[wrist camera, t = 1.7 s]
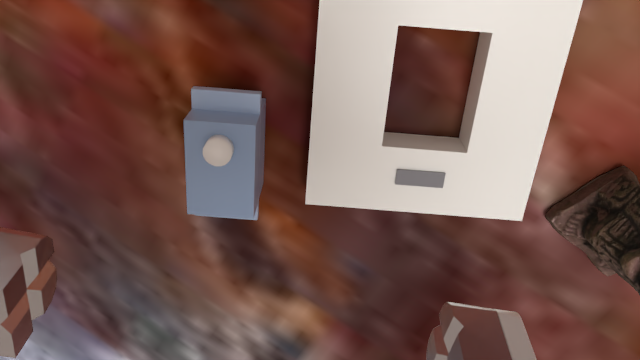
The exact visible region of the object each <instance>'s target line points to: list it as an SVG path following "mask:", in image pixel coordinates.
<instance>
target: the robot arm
mask: <svg viewBox="0 0 640 360" xmlns="http://www.w3.org/2000/svg"><path fill="white" fill-rule="evenodd" d="M53 253H54V247H53V241H52V239H51V238H50V237H48V236H44V235H39V234H34V233H28V232H23V231H18V230H13V229H7V228H2V227H0V356H5V357H13V358H16V356H17V355H18V353H19V352H20V350H21V349H22V347H23V346H24V344H25V343H26V341H27V340H28V338H29V336H30V335H31V333H32V332H33V327H32V320H33V319H35V318H37V317H39V316H41V315H43V314H44V313H45V311H46V310H47V308H48V306H49V305H50V303H51V301H52V298H53V295H54V292H55V289H56V282H57V272H56V268H55V267H54V265H53V264H52V263H51V262H50V261H49V259H50V257H51V256H52V254H53ZM439 317H440V322H441V325H439V326H437V327H436V328H434V329H433V330H432V333H431V335H430V338H429V341H428V347H427V360H537V359H536V356H535V354H534V351H533V348H532V346H531V343H530V340H529V338H528V335H527V332H526V330H525V327H524V324H523V322H522V319H521V316H520V315H519V314H518V313H517V312H512V311H505V310H498V309H490V308H484V307H477V306H471V305H464V304H458V303H452V302H446V303H445V304H444V305H443V307H442V309H441V311H440V314H439Z"/></svg>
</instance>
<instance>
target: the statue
mask: <svg viewBox="0 0 640 360" xmlns="http://www.w3.org/2000/svg"><path fill="white" fill-rule="evenodd" d="M545 217H546V219H547V220H548V221H549V222H550V224H551V225H552V227H553V228H554V229H555V230H556V231H557V232H558V233H559V234H560V235H562V236H563V237H564V238H565V239H567V240H568V241H569V242H571V243H572V244H574V245H575V246H577V247H578V248H580V249H581V250H582V251H584V252H585V253H586V254H587V256H588V258H589V259H590V260H591V261H592V263H593V264H594V265H595V266H596V268H597V269H598V270H600V271H601V272H602V273H603V274H605V275H606V276H610V275H613V274H615V273H617V274H618V275H619V276H620V277H621V278H623V279H624V280H625V281H626V282H628V283H629V284H630V285H631V286H632V287H634V289H635V290H636V291H638V293H639V295H640V184H639V182H638V179H637V176H636V175H635V174H634V173H633V172H632V171H631V170H629V169H628V168H627V167H626V166H621V167H618V168H616V169H614V170H611V171H609V172H607V173H606V174H603V175H601V176H599V177H597V178H596V179H594V180H592V181H591V182H589V183H588V184H586V185H585V186H583V187H581V188H580V189H579V190H578V191H576V192H575V193H573V194H572V195H570V196H569V197H567V198H565V199H564V200H562V201H561V202H559V203H557V204H555V205H554V206H553V207H552V208H551V209H550V210H549V211H548V212H547V213H546V215H545Z"/></svg>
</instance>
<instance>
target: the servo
mask: <svg viewBox="0 0 640 360" xmlns="http://www.w3.org/2000/svg"><path fill="white" fill-rule="evenodd" d="M191 101H192V109H191V111H190V112H189V113H188V115H187V116H186V117H185V119H184V145H185V170H186V194H187V214H195V215H197V216H210V217H222V218H235V219H248V220H257V219H258V215H259V197H260V194H261V190H262V186H263V183H264V150H265V117H266V98H262V91H250V90H238V89H225V88H213V87H200V86H193V87H192V88H191Z"/></svg>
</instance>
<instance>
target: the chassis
mask: <svg viewBox="0 0 640 360" xmlns="http://www.w3.org/2000/svg"><path fill="white" fill-rule="evenodd" d="M582 2H583V0H320V1H319V15H318V30H317V44H316V58H315V72H314V86H313V101H312V115H311V129H310V143H309V158H308V172H307V186H306V200H305V204H311V205H324V206H337V207H350V208H363V209H375V210H388V211H401V212H414V213H427V214H440V215H452V216H465V217H478V218H491V219H504V220H516V221H522V218H523V215H524V211H525V207H526V204H527V200H528V197H529V193H530V189H531V186H532V182H533V179H534V175H535V171H536V168H537V164H538V161H539V157H540V153H541V150H542V146H543V143H544V139H545V135H546V132H547V128H548V125H549V121H550V117H551V114H552V110H553V107H554V103H555V99H556V96H557V92H558V89H559V85H560V81H561V78H562V74H563V71H564V67H565V64H566V60H567V56H568V53H569V49H570V46H571V42H572V38H573V35H574V31H575V28H576V24H577V20H578V17H579V13H580V10H581V6H582ZM398 25H401V26H413V27H425V28H438V29H450V30H463V31H475V32H480V35H479V40H478V45H477V50H476V55H475V60H474V65H473V70H472V75H471V80H470V85H469V90H468V94H467V99H466V104H465V109H464V114H463V119H462V124H461V129H460V134H459V138H455V137H443V136H430V135H417V134H405V133H392V132H384V127H385V120H386V113H387V105H388V98H389V90H390V83H391V75H392V68H393V61H394V53H395V46H396V38H397V31H398Z"/></svg>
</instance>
